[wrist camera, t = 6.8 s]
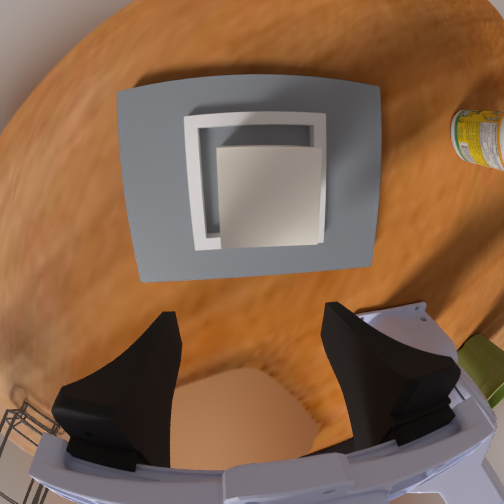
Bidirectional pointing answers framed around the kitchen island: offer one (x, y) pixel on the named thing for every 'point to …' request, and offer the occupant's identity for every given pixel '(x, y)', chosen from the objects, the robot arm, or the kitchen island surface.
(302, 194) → the cream block
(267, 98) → the display plinth
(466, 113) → the supplement bottle
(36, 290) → the kitchen island surface
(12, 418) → the geometric lantern
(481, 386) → the plant pot
